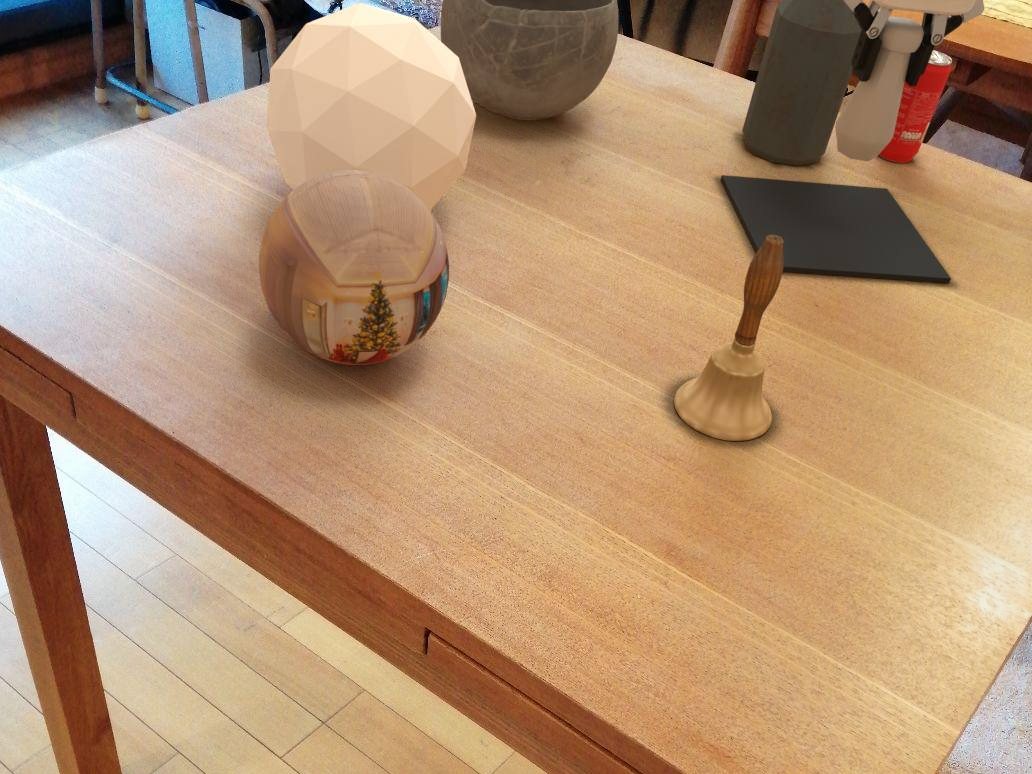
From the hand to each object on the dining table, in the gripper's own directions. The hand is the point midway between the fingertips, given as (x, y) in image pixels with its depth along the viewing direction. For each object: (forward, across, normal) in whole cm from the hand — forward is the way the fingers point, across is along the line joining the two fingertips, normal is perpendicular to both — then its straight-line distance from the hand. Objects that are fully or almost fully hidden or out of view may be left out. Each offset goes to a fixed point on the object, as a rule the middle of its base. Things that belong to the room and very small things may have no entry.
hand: (884, 76), depth 107 cm
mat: (+16, 0, 0) cm, 16 cm away
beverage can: (+17, +15, +21) cm, 31 cm away
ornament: (+17, -51, -28) cm, 61 cm away
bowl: (+17, -32, +25) cm, 44 cm away
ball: (+17, -50, -4) cm, 53 cm away
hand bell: (+17, -20, -34) cm, 43 cm away
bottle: (+17, 0, +20) cm, 26 cm away
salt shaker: (+8, 0, 0) cm, 8 cm away
